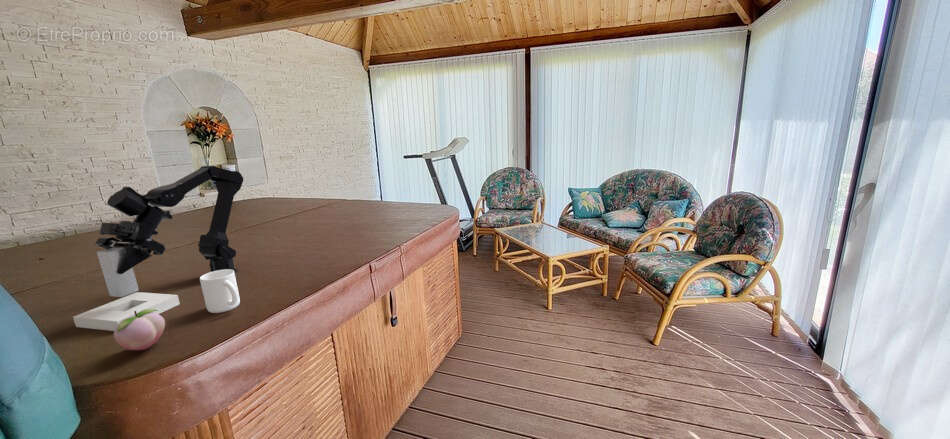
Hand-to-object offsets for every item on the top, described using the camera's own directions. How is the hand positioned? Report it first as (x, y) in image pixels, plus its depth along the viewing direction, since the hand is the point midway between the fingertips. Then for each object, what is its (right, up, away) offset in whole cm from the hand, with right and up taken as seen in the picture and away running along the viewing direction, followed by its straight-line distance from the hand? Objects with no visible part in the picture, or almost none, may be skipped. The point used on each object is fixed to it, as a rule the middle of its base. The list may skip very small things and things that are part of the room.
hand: (112, 273), depth 102 cm
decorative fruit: (+21, -16, -14) cm, 30 cm away
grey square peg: (+1, -6, +3) cm, 7 cm away
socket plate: (+1, -13, +4) cm, 13 cm away
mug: (+28, -11, +6) cm, 31 cm away
